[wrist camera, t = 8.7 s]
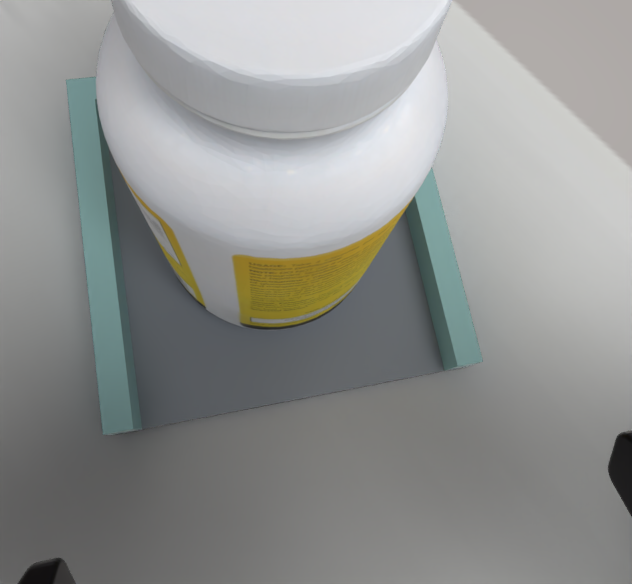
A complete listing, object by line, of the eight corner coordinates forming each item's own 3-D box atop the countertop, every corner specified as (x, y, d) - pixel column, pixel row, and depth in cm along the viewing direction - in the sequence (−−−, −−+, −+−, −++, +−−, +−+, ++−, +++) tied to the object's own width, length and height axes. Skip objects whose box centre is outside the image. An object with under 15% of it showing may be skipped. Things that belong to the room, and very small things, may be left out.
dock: (464, 367, 18) (483, 361, 17) (116, 434, 16) (102, 434, 15) (389, 73, 20) (400, 45, 19) (80, 106, 19) (66, 79, 17)
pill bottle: (405, 240, 19) (635, -53, 7) (267, 378, 17) (289, 271, 6) (269, 112, 19) (289, -338, 8) (123, 232, 18) (-108, -119, 6)
